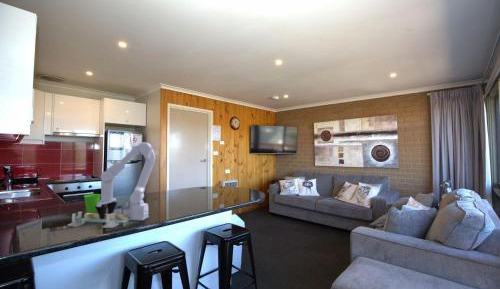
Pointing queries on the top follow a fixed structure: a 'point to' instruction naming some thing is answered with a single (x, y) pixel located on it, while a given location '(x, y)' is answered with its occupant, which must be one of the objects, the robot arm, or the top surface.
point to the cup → (91, 202)
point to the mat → (103, 220)
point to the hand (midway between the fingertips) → (106, 217)
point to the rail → (96, 216)
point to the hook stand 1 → (76, 220)
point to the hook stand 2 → (110, 221)
